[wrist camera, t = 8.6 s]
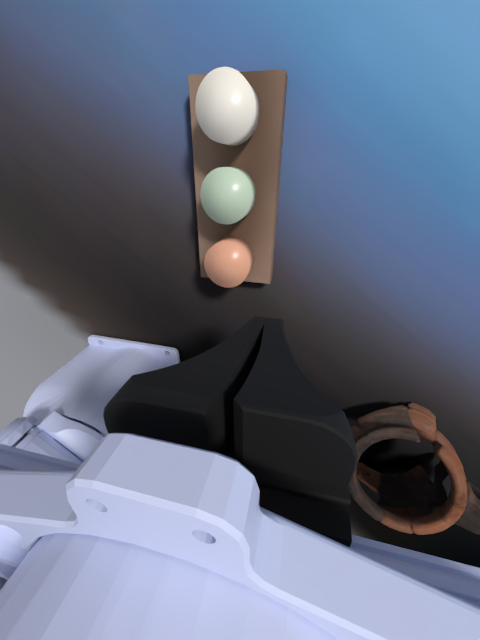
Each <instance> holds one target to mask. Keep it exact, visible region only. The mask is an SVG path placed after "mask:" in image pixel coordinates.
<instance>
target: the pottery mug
mask: <svg viewBox="0 0 480 640" xmlns="http://www.w3.org/2000/svg"><path fill="white" fill-rule="evenodd" d="M435 418H436V416H435V415H433V414H432V412H431V411H430V410H428V409H426V408H425V407H422V406H420V405H418V404H416V403H413V402H412V403H410V404H408V406H407V407H406V406H404V405H398V406H392V407H388V408H384V409H380V410H376V411H373V412H370V413H368V414H366V415H364V416H361V417H359V418H358V419H357V424H358V425H351V426H350V428H351V431H352V434H353V438H354V441H355V445H356V449H357V456H358V458H357V465H358V467H357V466H356V469H355V472H354V474H353V477H352V480H351V483H350V486H349V491H350V493H351V494H352V497H353V499H354V500H355V501H356V502H357V503H358V504H359V505H360V506H361V508H362V509H363V510H364V511H365V512H367V513H368V514H369V515H370V516H371V517H373V518H374V519H375V520H377V521H380V522H381V523H383V524H385V525H386V526H388V527H390V528H393V529H395V530H398V531H401V532H405V533H415V534H418V535H424V534H433V533H437V532H440V531H443V530H445V529H447V528H448V527H450V526H452V525H453V524H454V523H455V524H457V525H459V526H461V527H463V528H465V529H467V530H469V531H471V532H473V533H476V534H479V535H480V490H479V489H478V488H477V487H475V486H474V485H472V484H471V483H470V482H469V481H468V480H467V479H466V477H465V474H464V469H463V466H462V464H461V462H460V459H459V457H458V456H457V454H456V452H455V450H454V448H453V447H452V445H451V444H450V442H449V441H448V440H447V439H446V438H445V437H444V436H443V435H442V434H441V433H440V432H439V431H437V430H436V420H435ZM419 436H421V437H423V438H425V439H426V440H427V441H429V442H430V443H431V444H432V445H433V450H434V453H435V454H436V455H437V457H438V458H439V459H440V460H441V461H440V463H439V464H437V465H436V466H435V475H434V483H432V481H431V480H430V478H429V477H428V476H427V475H426V473H425V471H424V469H423V468H422V466H421V465H417V466H416V467H414V468H413V469H411V470H409V471H407V472H404V473H397V474H383V473H380V472H377V471H375V470H373V469H371V468H369V467H367V466H366V465H364V464H363V463H361V462H359V463H358V461H359V458H360V456H361V454H362V453H363V452H364V451H365V450H366V449H367V448H368V447H369V446H371V445H372V444H374V443H377V442H379V441H382V440H386V439H406V440H410V441H414V442H417V443H420V438H419ZM358 479H359V480H360V481H362V482H363V483H365V484H366V485H367V486H368V487H370V488H371V489H372V490H374V491H375V492H377V493H378V495H379V497H378V502H377V504H375V503H374V502H373V501H372V500H371V499H370V498H369V497H368V496H367V495H366V493H365V492H364V491H363V489H362V487H361V485H360V483H359V480H358ZM434 510H436V511H435V512H434Z"/></svg>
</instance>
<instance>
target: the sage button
mask: <svg viewBox="0 0 480 640" xmlns="http://www.w3.org/2000/svg"><path fill="white" fill-rule="evenodd" d="M200 198H201V203H202V206H203V209H204V211H205V212H206V214H207V215H208V216H209V217H210V218H211V219H212V220H214V221H215V222H217V223H220V224H233V223H236V222H238V221H239V220H241V219H242V218H244V217H245V216H246V215H248V214H249V213H250V211H251V210H252V209H253V207H254V204H255V201H256V188H255V184H254V182H253V180H252V178H251V177H250V175H249V174H248V173H246V172H245V171H244V170H242V169H240V168H236V167H219V168H216V169H214V170H212V171H211V172H210V173H209V174H208V175H207V176H206V177H205V179H204V181H203V183H202V186H201V191H200Z"/></svg>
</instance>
